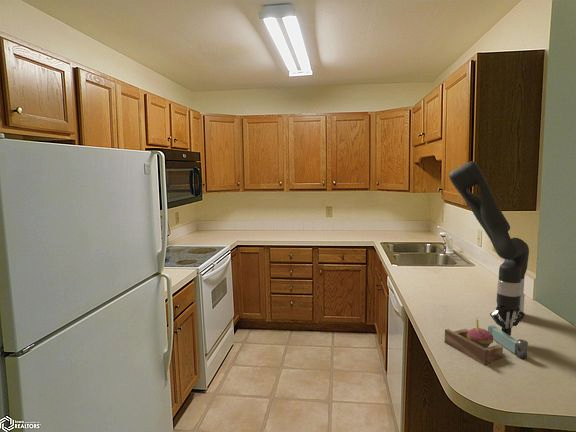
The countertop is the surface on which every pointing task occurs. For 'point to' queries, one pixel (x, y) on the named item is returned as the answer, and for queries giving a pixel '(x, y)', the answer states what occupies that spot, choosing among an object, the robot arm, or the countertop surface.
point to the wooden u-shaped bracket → (472, 347)
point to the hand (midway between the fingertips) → (506, 336)
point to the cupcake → (480, 336)
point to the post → (522, 349)
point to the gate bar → (503, 338)
